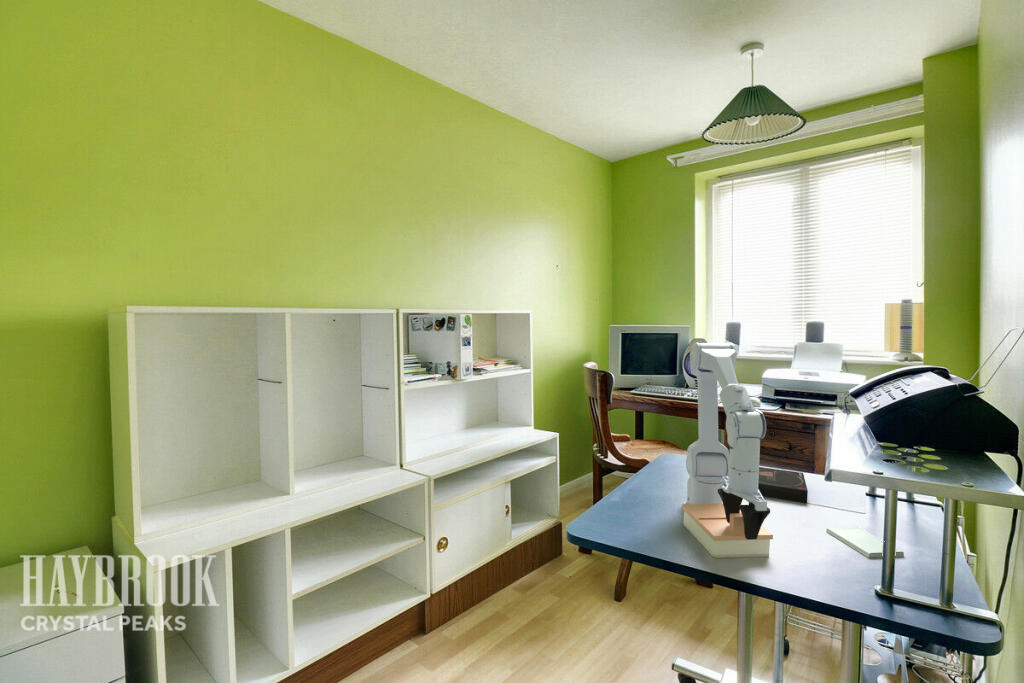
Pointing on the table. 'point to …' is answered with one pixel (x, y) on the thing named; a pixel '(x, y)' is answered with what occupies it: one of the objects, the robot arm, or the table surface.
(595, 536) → the table surface
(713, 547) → the tub
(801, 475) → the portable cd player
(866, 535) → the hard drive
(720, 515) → the lid
